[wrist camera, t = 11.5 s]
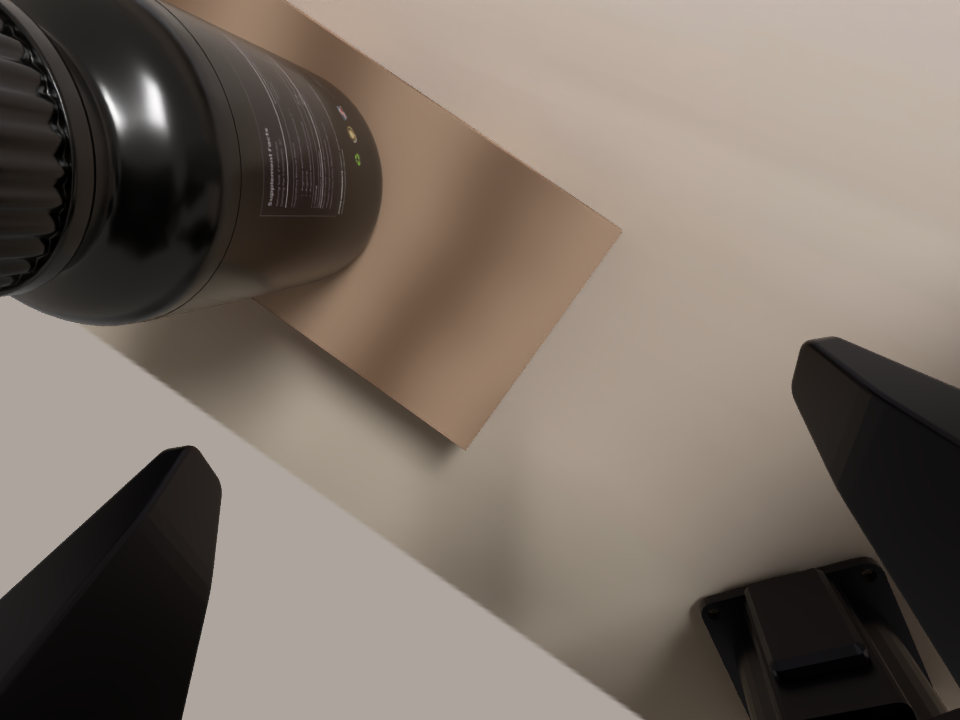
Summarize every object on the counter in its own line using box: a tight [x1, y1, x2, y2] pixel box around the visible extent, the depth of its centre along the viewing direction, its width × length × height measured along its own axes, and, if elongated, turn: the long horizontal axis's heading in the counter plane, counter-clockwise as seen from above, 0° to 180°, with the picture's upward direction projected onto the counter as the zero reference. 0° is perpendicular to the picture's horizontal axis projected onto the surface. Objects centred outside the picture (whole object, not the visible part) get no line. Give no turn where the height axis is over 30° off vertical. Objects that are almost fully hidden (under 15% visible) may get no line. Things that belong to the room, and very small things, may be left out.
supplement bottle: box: [0, 0, 383, 326], centre depth 13 cm, size 7×7×12 cm
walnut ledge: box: [164, 0, 622, 451], centre depth 21 cm, size 20×9×3 cm, turn 57°
